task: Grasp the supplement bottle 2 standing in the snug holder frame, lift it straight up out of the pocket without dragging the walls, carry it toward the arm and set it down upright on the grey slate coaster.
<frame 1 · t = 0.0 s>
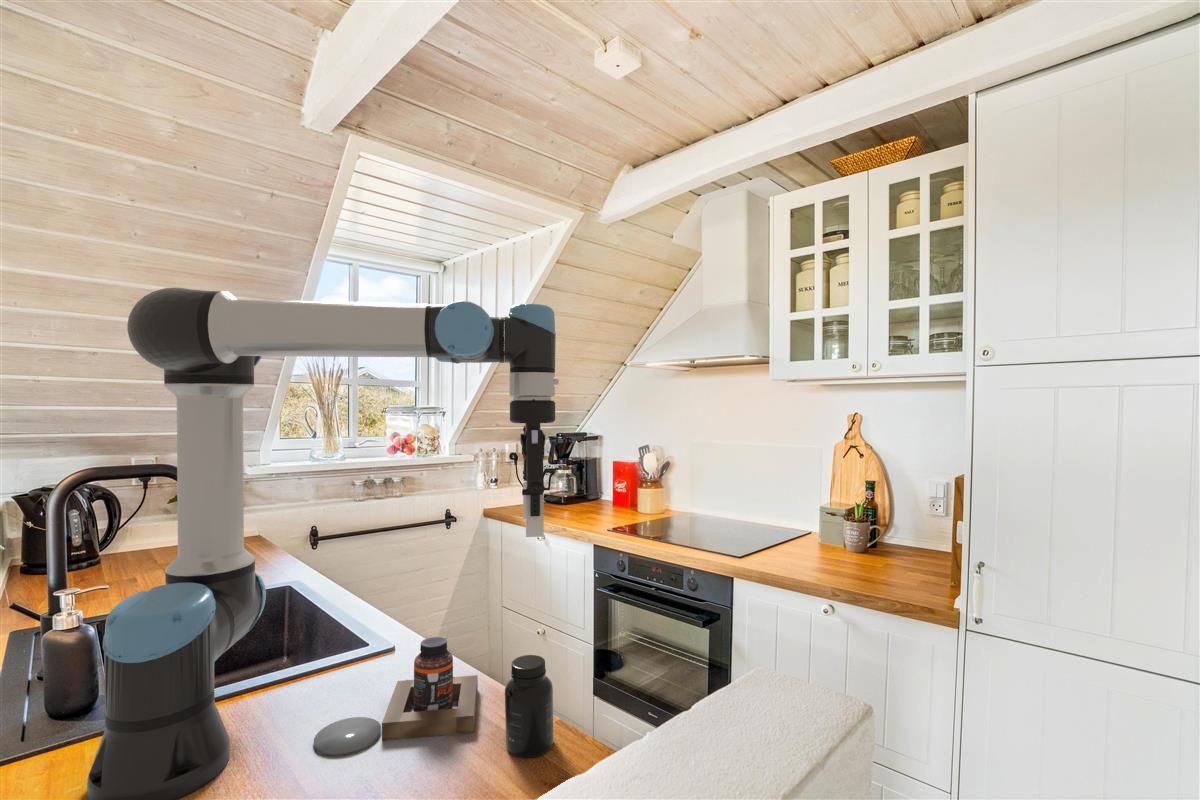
hand: (532, 527, 100), 28 cm above the table, fingers open, 13 cm apart
slate coaster: (348, 737, 88), on the table
supplement bottle 2: (433, 714, 94), resting in holder frame
supplement bottle: (529, 746, 86), on the table
holder frame: (433, 713, 94), on the table
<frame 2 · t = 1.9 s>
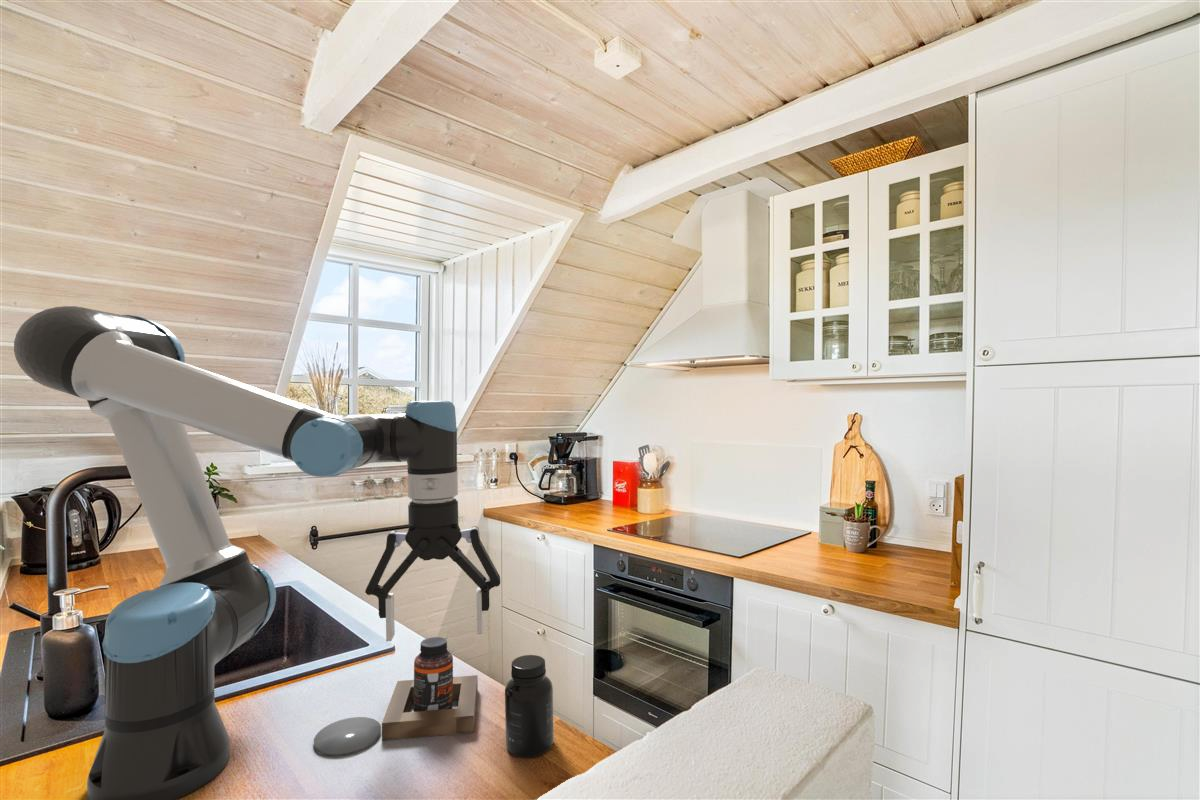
hand: (435, 634, 94), 12 cm above the table, fingers open, 13 cm apart
nothing on the table moved.
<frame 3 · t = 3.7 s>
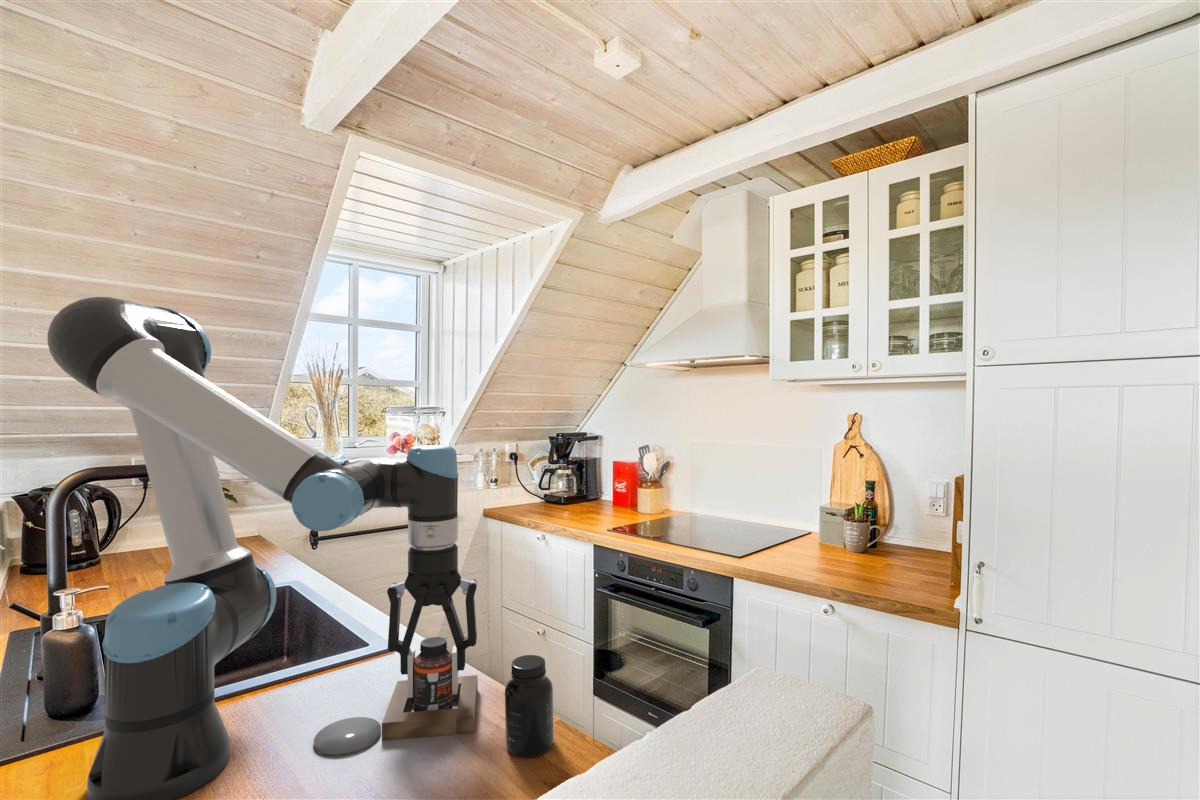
hand: (433, 691, 94), 3 cm above the table, fingers closed on supplement bottle 2, 6 cm apart
supplement bottle 2: (433, 714, 94), resting in holder frame, touching gripper
everything else where it was.
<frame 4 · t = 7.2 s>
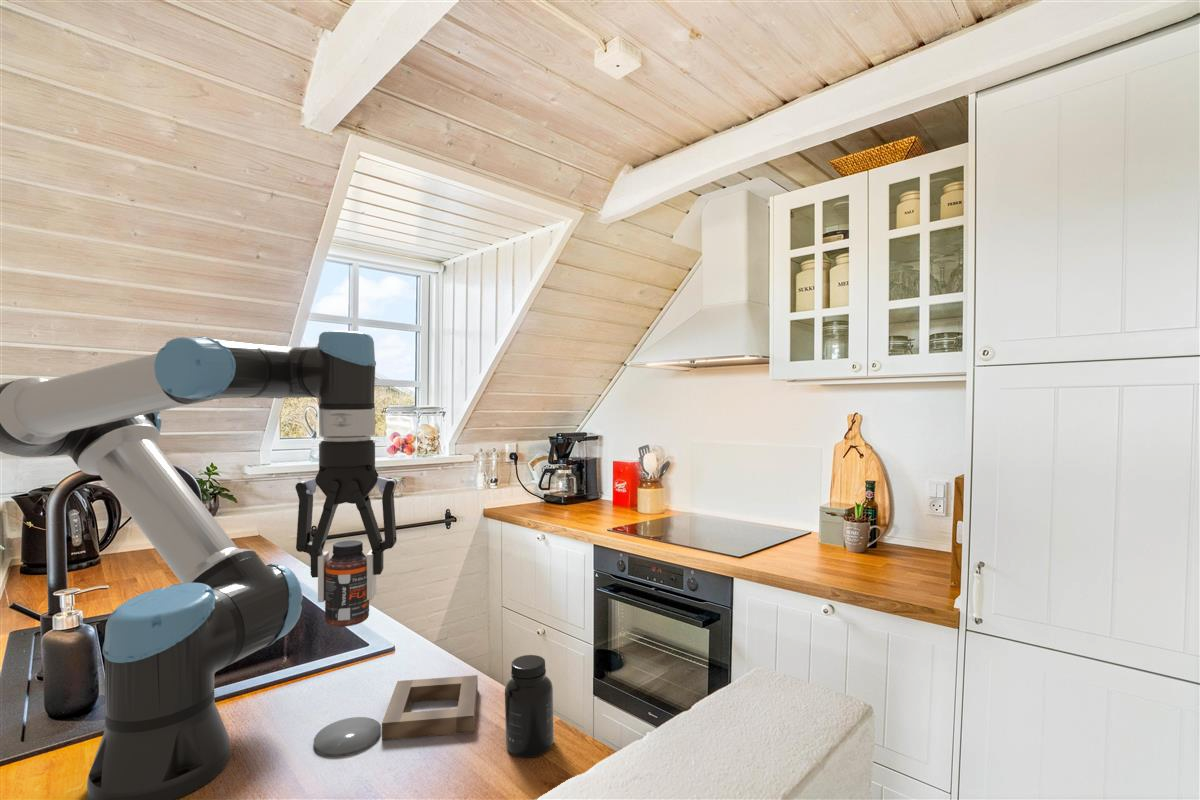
hand: (347, 597, 88), 20 cm above the table, fingers closed on supplement bottle 2, 6 cm apart
supplement bottle 2: (347, 622, 88), point 17 cm above the table, touching gripper
everything else where it was.
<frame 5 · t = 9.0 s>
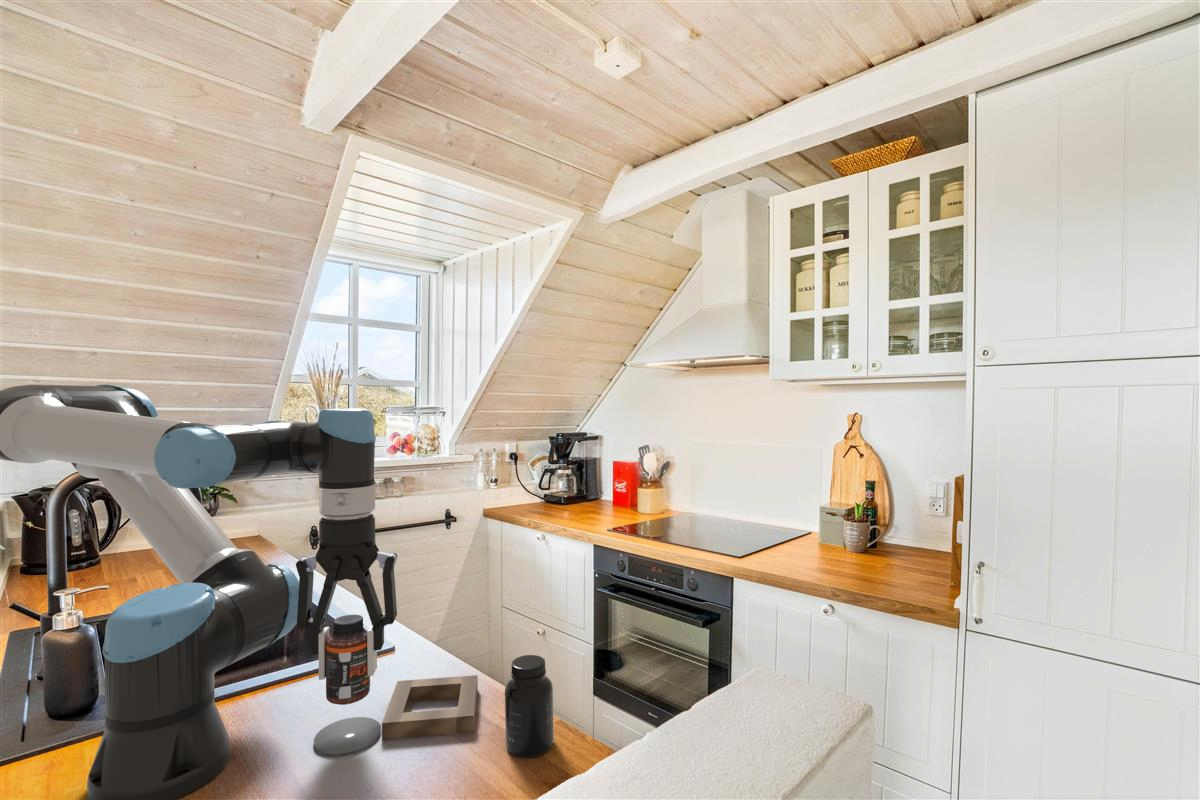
hand: (348, 673, 88), 9 cm above the table, fingers closed on supplement bottle 2, 6 cm apart
supplement bottle 2: (348, 697, 88), point 6 cm above the table, touching gripper
everything else where it was.
when the fingers open (5 cm above the table, at t = 10.7 s): supplement bottle 2 stays where it is, resting on slate coaster.
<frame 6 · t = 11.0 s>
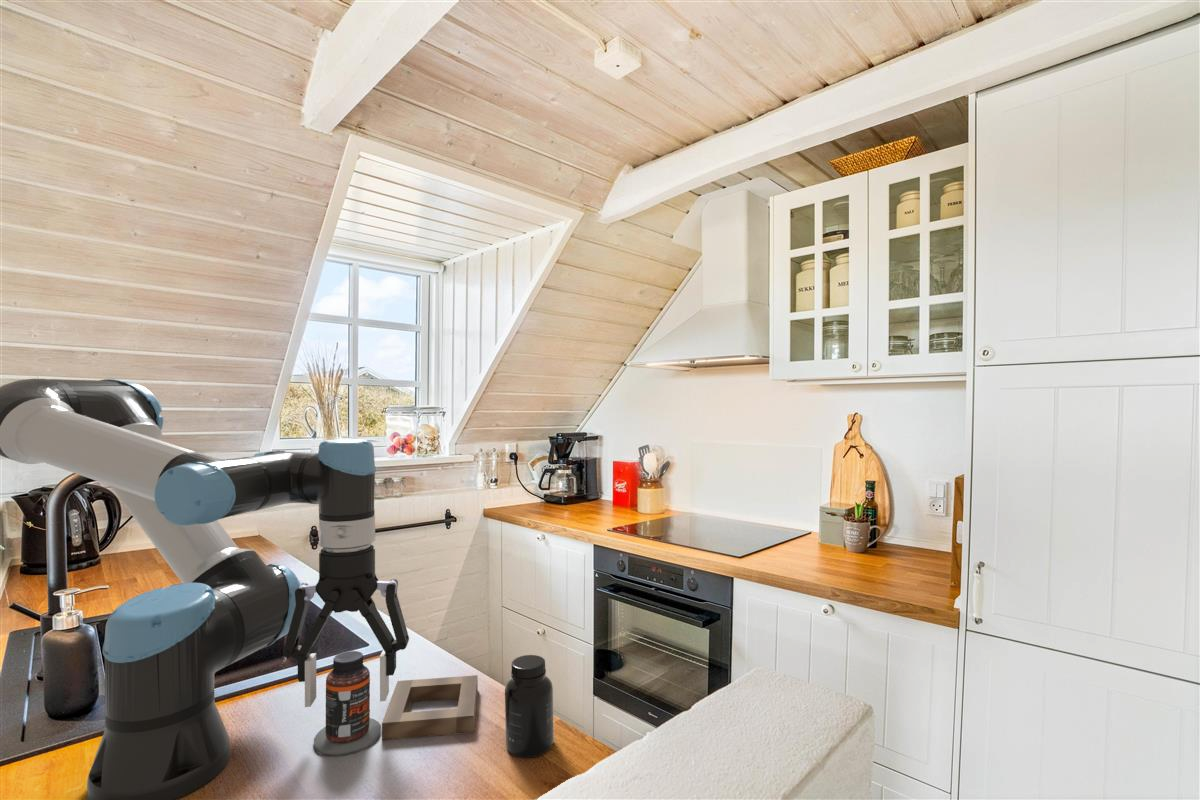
hand: (347, 699, 88), 6 cm above the table, fingers open, 9 cm apart
supplement bottle 2: (348, 734, 88), resting on slate coaster
everything else where it was.
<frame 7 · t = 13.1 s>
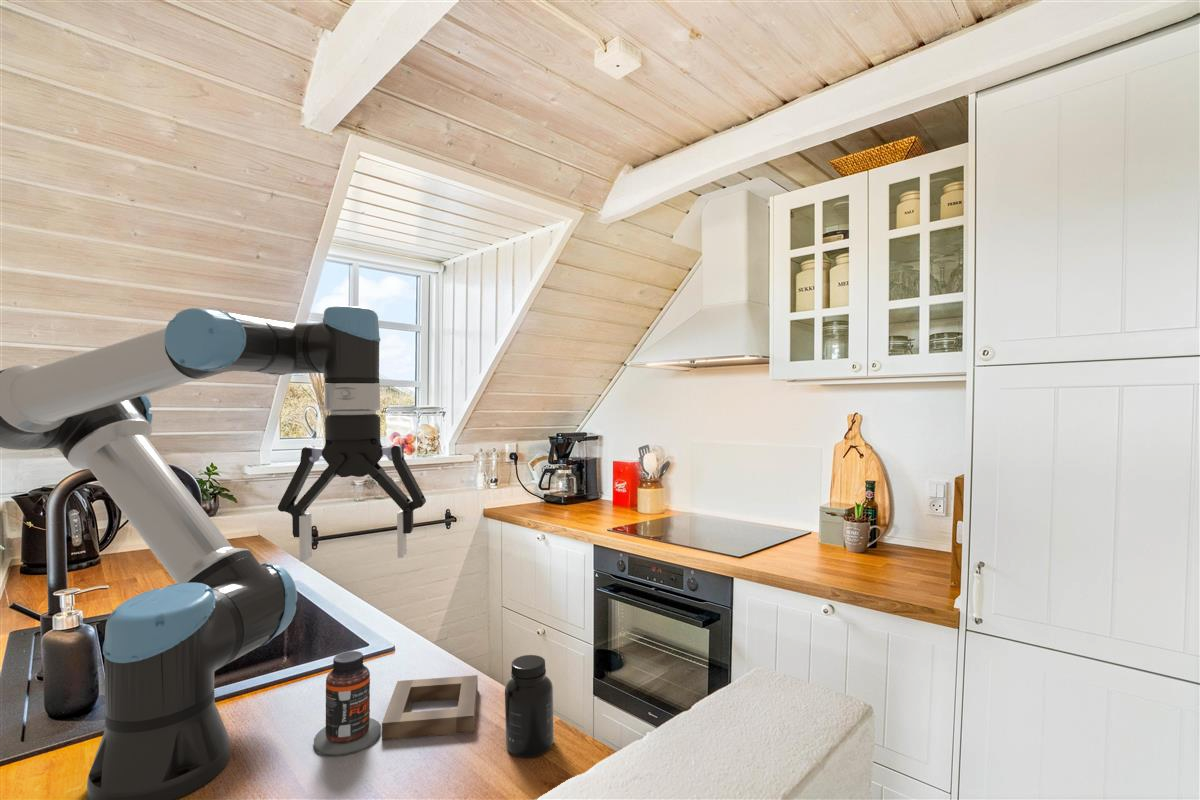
hand: (354, 557, 89), 26 cm above the table, fingers open, 13 cm apart
nothing on the table moved.
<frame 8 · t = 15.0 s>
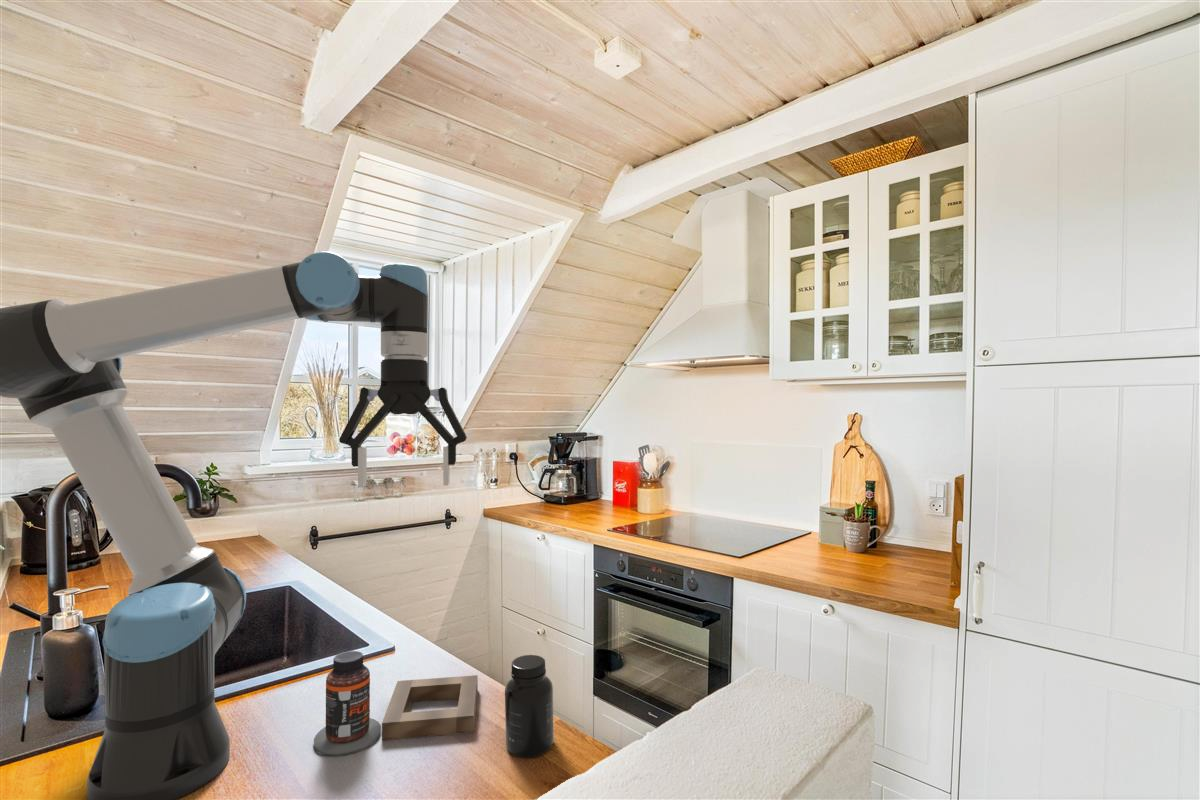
hand: (404, 485, 101), 35 cm above the table, fingers open, 13 cm apart
nothing on the table moved.
at the end: supplement bottle 2 0.0 cm from the slate coaster (horizontally); supplement bottle 2 tilted 0°; supplement bottle 2 resting on slate coaster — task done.
